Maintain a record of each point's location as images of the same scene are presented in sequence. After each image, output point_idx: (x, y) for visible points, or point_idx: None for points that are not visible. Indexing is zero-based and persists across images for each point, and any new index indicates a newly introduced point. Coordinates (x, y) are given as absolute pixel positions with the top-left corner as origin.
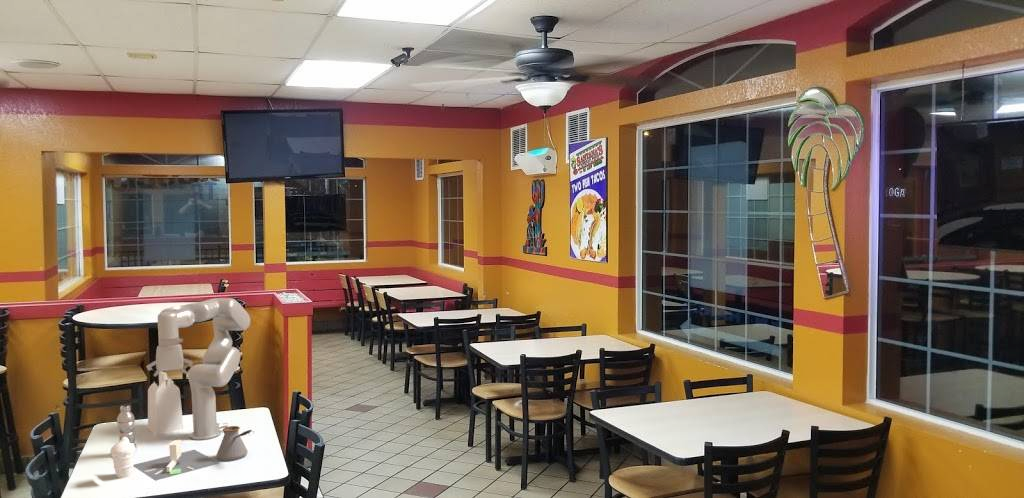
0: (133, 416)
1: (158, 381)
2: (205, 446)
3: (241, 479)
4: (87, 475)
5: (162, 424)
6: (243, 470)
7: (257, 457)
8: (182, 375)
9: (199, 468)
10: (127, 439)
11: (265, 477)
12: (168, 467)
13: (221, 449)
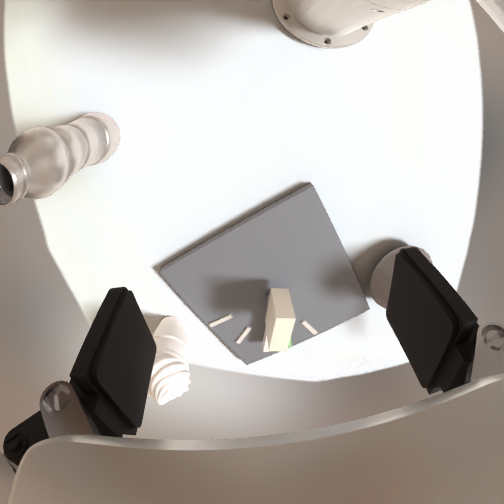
0: (57, 165)
1: (149, 383)
2: (338, 123)
3: (385, 358)
4: (80, 279)
5: None
6: None
7: (438, 264)
8: (419, 379)
9: (327, 329)
10: (170, 398)
11: None
12: (267, 350)
13: (386, 307)
